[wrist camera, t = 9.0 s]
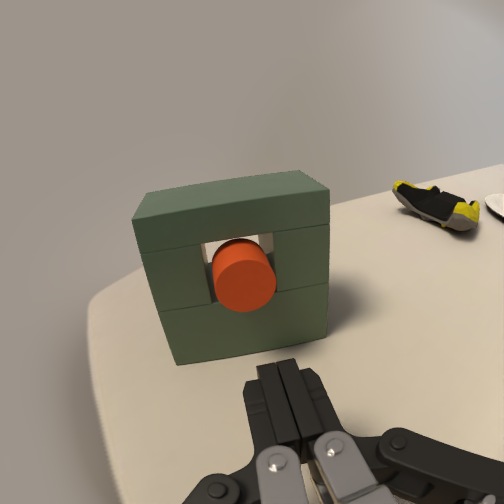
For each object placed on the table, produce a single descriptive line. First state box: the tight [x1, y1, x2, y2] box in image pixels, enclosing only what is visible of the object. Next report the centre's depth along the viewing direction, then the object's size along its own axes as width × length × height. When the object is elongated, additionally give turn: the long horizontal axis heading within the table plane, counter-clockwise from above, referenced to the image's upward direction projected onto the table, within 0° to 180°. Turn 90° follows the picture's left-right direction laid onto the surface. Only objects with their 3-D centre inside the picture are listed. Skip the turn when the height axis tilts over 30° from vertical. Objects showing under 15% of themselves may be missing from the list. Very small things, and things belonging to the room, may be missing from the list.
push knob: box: [212, 238, 276, 312], centre depth 19 cm, size 3×4×4 cm
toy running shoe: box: [392, 181, 480, 231], centre depth 40 cm, size 15×6×10 cm
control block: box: [132, 170, 330, 365], centre depth 23 cm, size 6×12×12 cm, turn 100°
